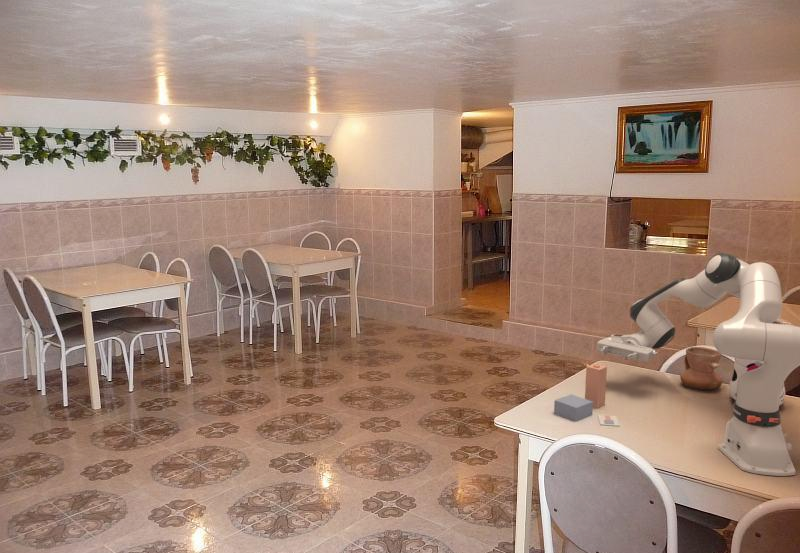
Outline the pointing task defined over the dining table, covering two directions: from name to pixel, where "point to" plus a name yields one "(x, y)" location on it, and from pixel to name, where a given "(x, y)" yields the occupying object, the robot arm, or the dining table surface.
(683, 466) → the dining table surface
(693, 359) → the ceramic jug
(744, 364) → the milk container
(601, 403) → the coral brick
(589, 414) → the base brick
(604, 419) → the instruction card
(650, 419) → the dining table surface
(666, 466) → the dining table surface
